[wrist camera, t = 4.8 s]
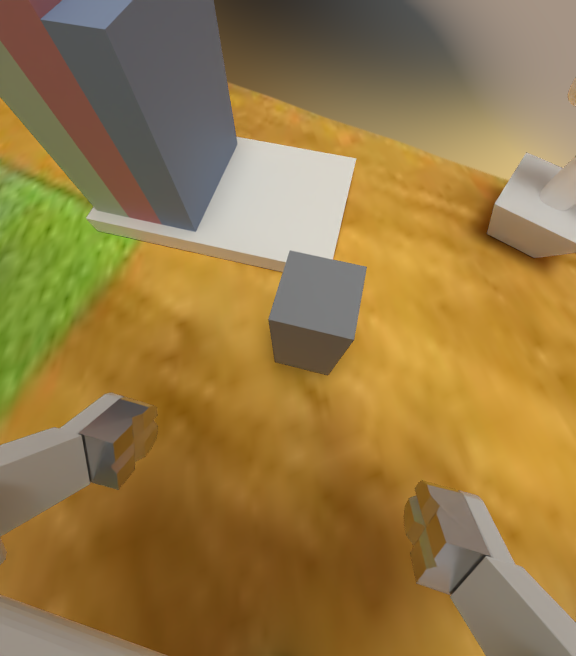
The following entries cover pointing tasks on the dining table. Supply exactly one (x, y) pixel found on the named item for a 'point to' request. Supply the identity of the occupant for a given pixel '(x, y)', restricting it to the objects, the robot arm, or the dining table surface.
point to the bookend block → (315, 311)
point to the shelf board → (162, 131)
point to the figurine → (538, 206)
